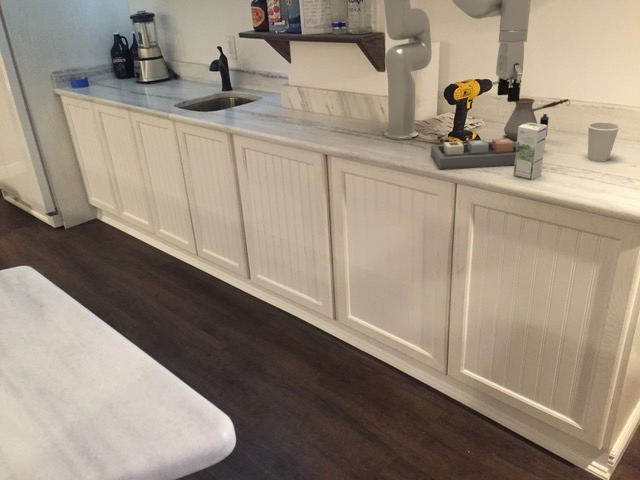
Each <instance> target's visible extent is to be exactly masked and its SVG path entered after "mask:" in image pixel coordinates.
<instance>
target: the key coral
mask: <svg viewBox="0 0 640 480" xmlns="http://www.w3.org/2000/svg"><path fill="white" fill-rule="evenodd" d="M512 141H513V140H512V139H510V138H509V137H508V138H495V139H492V140H491V142H492V148H493V149H494V150H495V151H496V152H499V151H513V146H514V143H513V142H512Z"/></svg>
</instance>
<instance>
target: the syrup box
mask: <svg viewBox="0 0 640 480" xmlns="http://www.w3.org/2000/svg"><path fill="white" fill-rule="evenodd" d="M546 131H547V132H548V128H547V125H542V124H540V123H537V124H535V123H524V124H522V125H521V126H519V127H518V136H517V140H516V144H517V146H516V156H515V166H513V168H514V170H513V176H514V177H518V178H522V179H526V180H531V181H532V180H534V179H536V178H539V177H540V176H541V175H542V173H543V171H542V170H543V161H544V160H543V159H544V153H545V147H546V139H547V138H546V137H547V136H546ZM544 146H545V147H544Z"/></svg>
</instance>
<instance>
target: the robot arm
mask: <svg viewBox="0 0 640 480" xmlns="http://www.w3.org/2000/svg"><path fill="white" fill-rule="evenodd" d="M451 1H452V3H454V4H455V6H456V7H457V8H459V9H460V10H461V11H462V12H463V13H465V14H466V15H467V16H468V17H470V18H472V19H475V20H476V19H477V20H481V19H487V18H494V17H500V19H499V21H500V23H499V32H498V34H499V35H498V43H499V47H498V51H497V59H496V69H495V74H496V76H497V77H498V79H497V80H498V81H497V82H498V83H497V91H496V93H497V95H498V96H507V102H508V103H516V102H517V101H519V99H520V95H521V86H522V84H521V83H522V77H523V70H524V58H525V57H524V56H525V43H526V42H528V32H529V22H530V20H529V19H530V12H531V11H530V10H531V1H532V0H451ZM383 3H384V6H383V7H384V17H385V18H384V19H385V27H386V33H387V36H388V37H389V39H391V40H393V41H404V40H408V42H407V43H401V44H396V45H394V46H392V47H391V48H389V49H388V50H387V52H386V54H385V56H384V65H385V70H386V74H387V75H386V77H387V93H388V94H387V95H388V96H387V98H388V99H387V100H388V103H387V104H388V107H387V109H388V111H387V112H388V115H387V116H388V117H387V118H388V119H387V120H388V121H387V122H388V123H387V124H388V127H387V128H388V129H387V130H385V131H384V133H383V136H384V137H385V138H387V139H391V140H399V141H403V140H412V139H413V138H412V135H410V134H412V133H413V132H414V131H415V129H416V126H415V125H416V120H415V119H416V84H415V80H414V77H413V75H412V72H415V71H420V70H423V69H425V68H427V67H428V66H429V65H430V63H431V61H432V60H431V59H432V38H431V23H430V19H429V16H428V15H427V13H426V11H425V10H423V9H421V8H417V7H415V8H414V7H413V8H412V7H411V0H383Z"/></svg>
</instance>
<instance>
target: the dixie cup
mask: <svg viewBox="0 0 640 480" xmlns="http://www.w3.org/2000/svg"><path fill="white" fill-rule="evenodd" d="M587 127H588V137H587V138H588V139H587V159H588V160H590V161H593V162H608V161H609V160H610V156H611V154H612V150H613V147H614V144H615V141H616V138H617V135H618V131H619V130H620V128H621V126H620V125H619V124H617V123H612V122H606V121H604V122H603V121H600V122H599V121H597V122H592V123H589V124H588V125H587Z"/></svg>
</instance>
